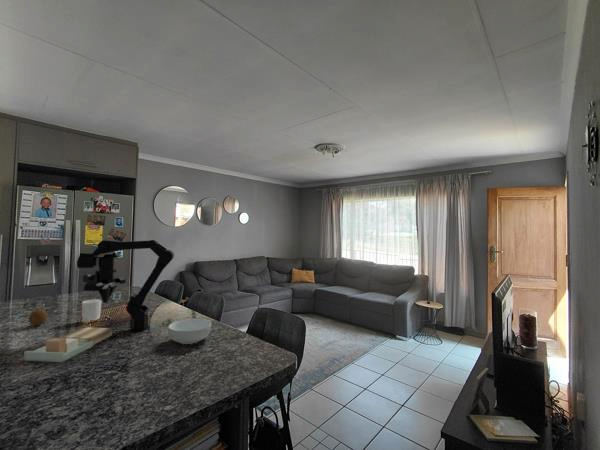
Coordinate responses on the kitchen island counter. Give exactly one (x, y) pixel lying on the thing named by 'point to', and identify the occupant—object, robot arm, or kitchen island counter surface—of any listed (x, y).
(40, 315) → the fruit
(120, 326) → the kitchen island counter surface
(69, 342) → the cream tile
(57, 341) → the terracotta tile
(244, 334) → the kitchen island counter surface
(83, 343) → the tray
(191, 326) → the cereal bowl
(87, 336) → the beech board
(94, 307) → the white cup
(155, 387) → the kitchen island counter surface
